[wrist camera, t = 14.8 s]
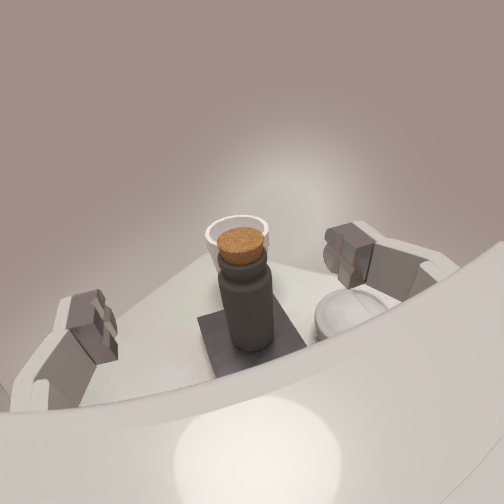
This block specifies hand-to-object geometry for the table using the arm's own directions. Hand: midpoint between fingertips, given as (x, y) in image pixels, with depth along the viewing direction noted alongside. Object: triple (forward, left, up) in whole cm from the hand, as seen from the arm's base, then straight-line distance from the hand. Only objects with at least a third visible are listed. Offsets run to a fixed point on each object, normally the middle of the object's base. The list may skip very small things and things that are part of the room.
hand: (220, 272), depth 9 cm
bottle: (+5, +16, -24) cm, 29 cm away
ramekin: (+19, +12, -28) cm, 36 cm away
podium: (+5, +16, -28) cm, 32 cm away
